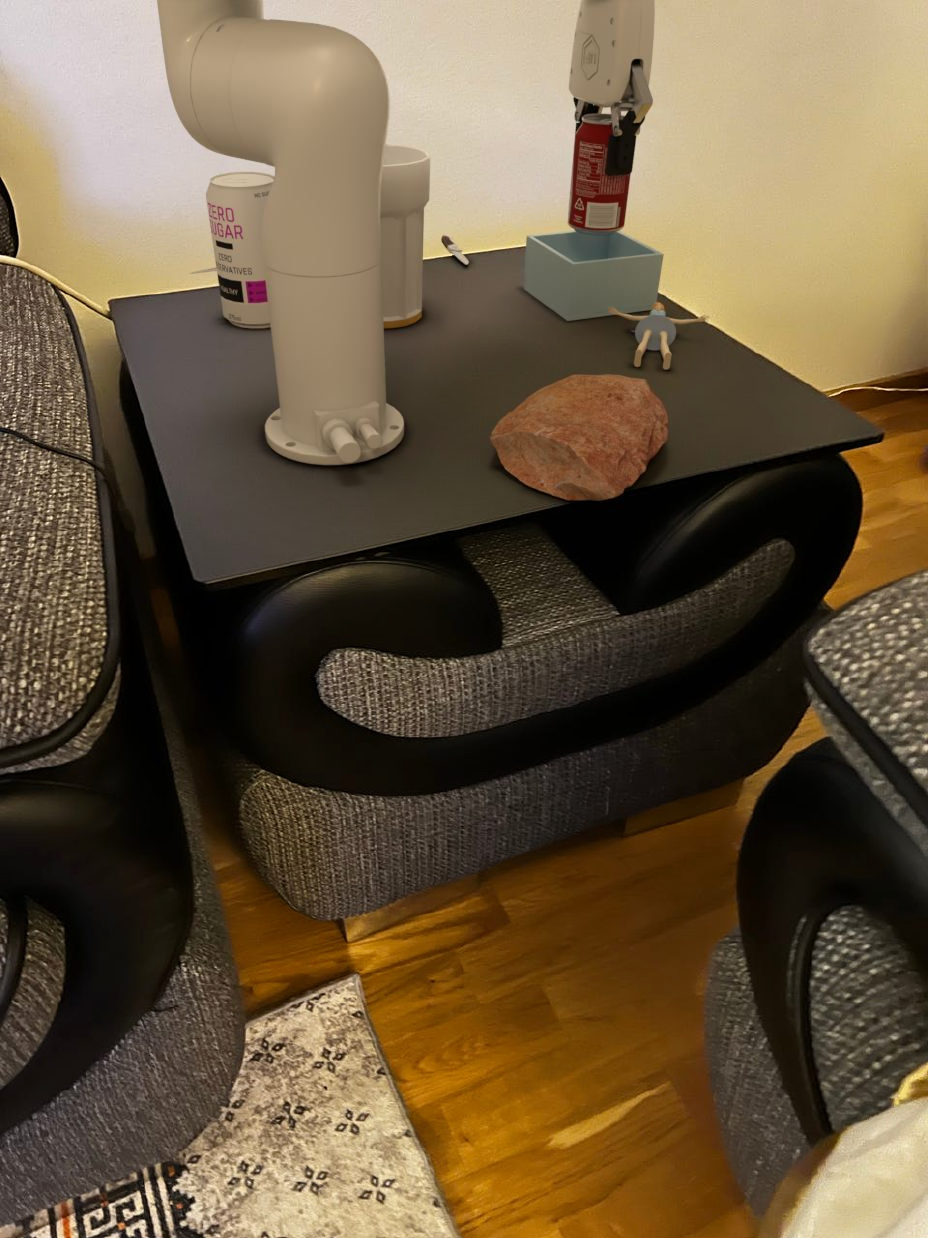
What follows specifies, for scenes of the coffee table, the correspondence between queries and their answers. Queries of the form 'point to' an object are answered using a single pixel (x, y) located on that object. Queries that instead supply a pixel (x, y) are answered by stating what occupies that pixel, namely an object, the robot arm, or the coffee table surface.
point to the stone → (583, 436)
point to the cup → (403, 232)
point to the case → (591, 273)
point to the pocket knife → (453, 248)
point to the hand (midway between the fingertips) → (601, 165)
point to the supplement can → (240, 244)
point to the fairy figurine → (655, 332)
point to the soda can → (596, 181)
